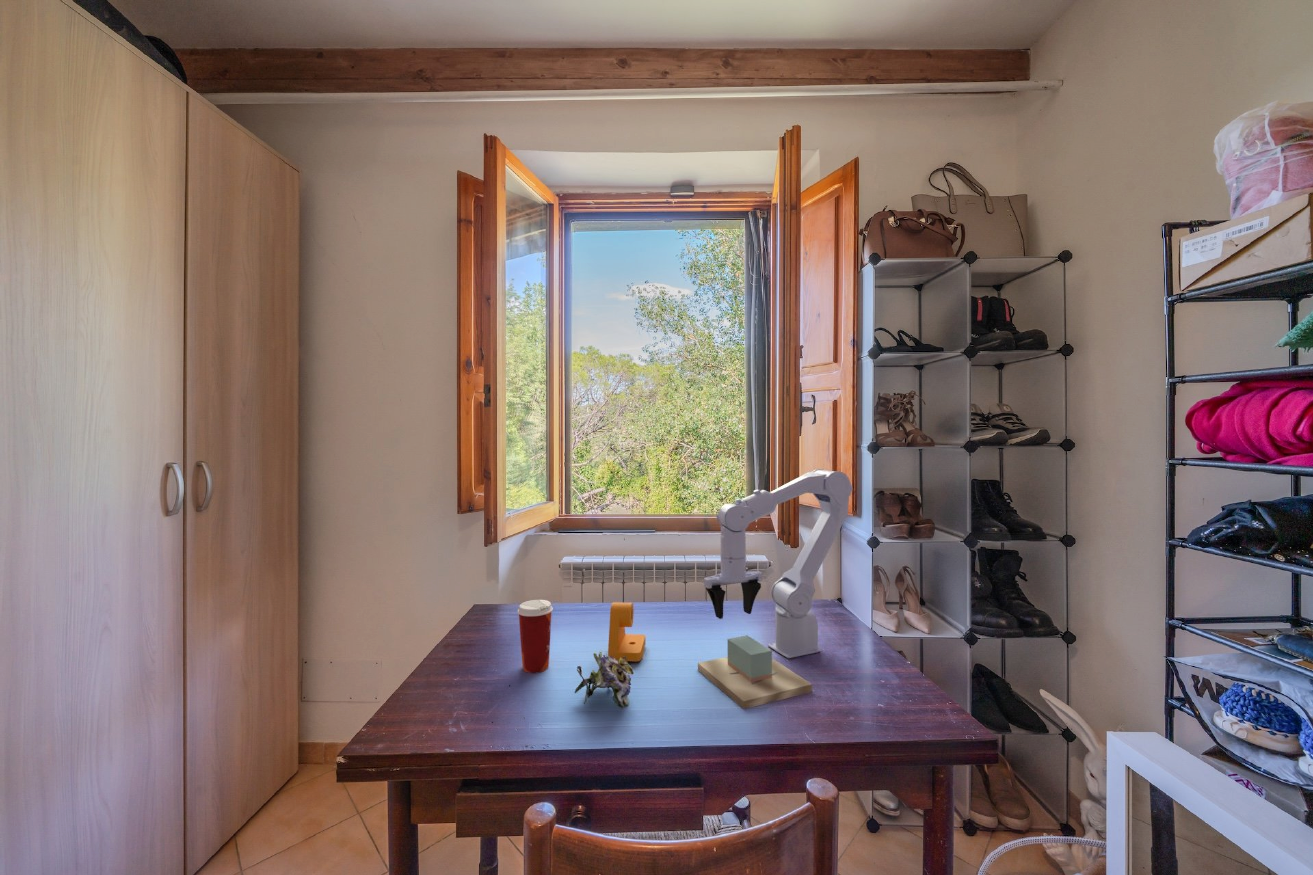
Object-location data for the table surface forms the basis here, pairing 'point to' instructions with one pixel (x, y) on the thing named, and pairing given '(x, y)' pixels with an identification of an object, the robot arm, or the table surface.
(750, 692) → the birch board
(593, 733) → the table surface
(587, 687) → the passion flower
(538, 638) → the paper cup
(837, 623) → the table surface
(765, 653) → the block
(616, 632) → the bracket
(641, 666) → the table surface
